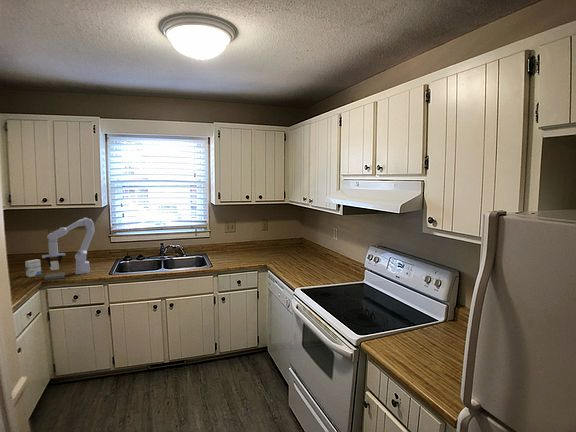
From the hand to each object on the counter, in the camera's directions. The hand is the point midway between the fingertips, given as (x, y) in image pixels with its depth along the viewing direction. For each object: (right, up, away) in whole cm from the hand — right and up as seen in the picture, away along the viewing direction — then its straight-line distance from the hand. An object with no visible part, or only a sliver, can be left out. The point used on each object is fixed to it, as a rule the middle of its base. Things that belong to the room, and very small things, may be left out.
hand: (54, 266), depth 261 cm
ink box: (-19, -8, +5) cm, 21 cm away
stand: (+1, -9, -1) cm, 9 cm away
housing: (0, -2, 0) cm, 2 cm away
